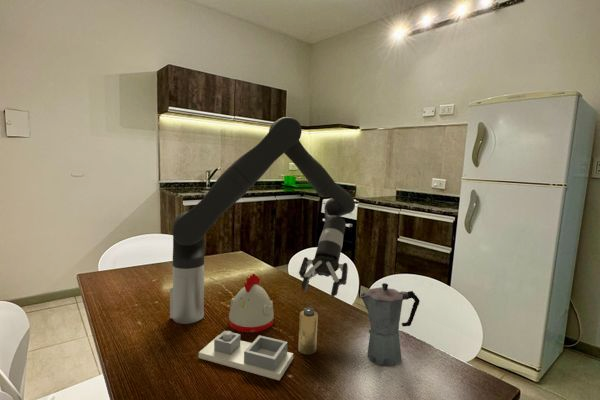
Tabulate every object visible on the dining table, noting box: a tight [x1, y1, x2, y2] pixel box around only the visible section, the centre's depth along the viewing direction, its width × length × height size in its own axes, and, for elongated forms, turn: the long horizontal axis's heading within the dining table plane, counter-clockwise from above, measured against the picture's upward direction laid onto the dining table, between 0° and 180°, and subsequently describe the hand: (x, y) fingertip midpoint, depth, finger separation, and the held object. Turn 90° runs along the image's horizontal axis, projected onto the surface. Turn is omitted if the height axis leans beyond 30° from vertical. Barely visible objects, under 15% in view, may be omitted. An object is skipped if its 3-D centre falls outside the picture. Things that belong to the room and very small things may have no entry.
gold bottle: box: [298, 307, 319, 355], centre depth 87 cm, size 5×5×11 cm
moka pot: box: [359, 282, 421, 367], centre depth 85 cm, size 10×15×20 cm, turn 95°
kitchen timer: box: [228, 273, 275, 333], centre depth 101 cm, size 14×14×15 cm
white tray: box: [198, 330, 294, 381], centre depth 82 cm, size 22×9×6 cm, turn 71°
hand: (318, 293), depth 95 cm, fingers open, 8 cm apart
